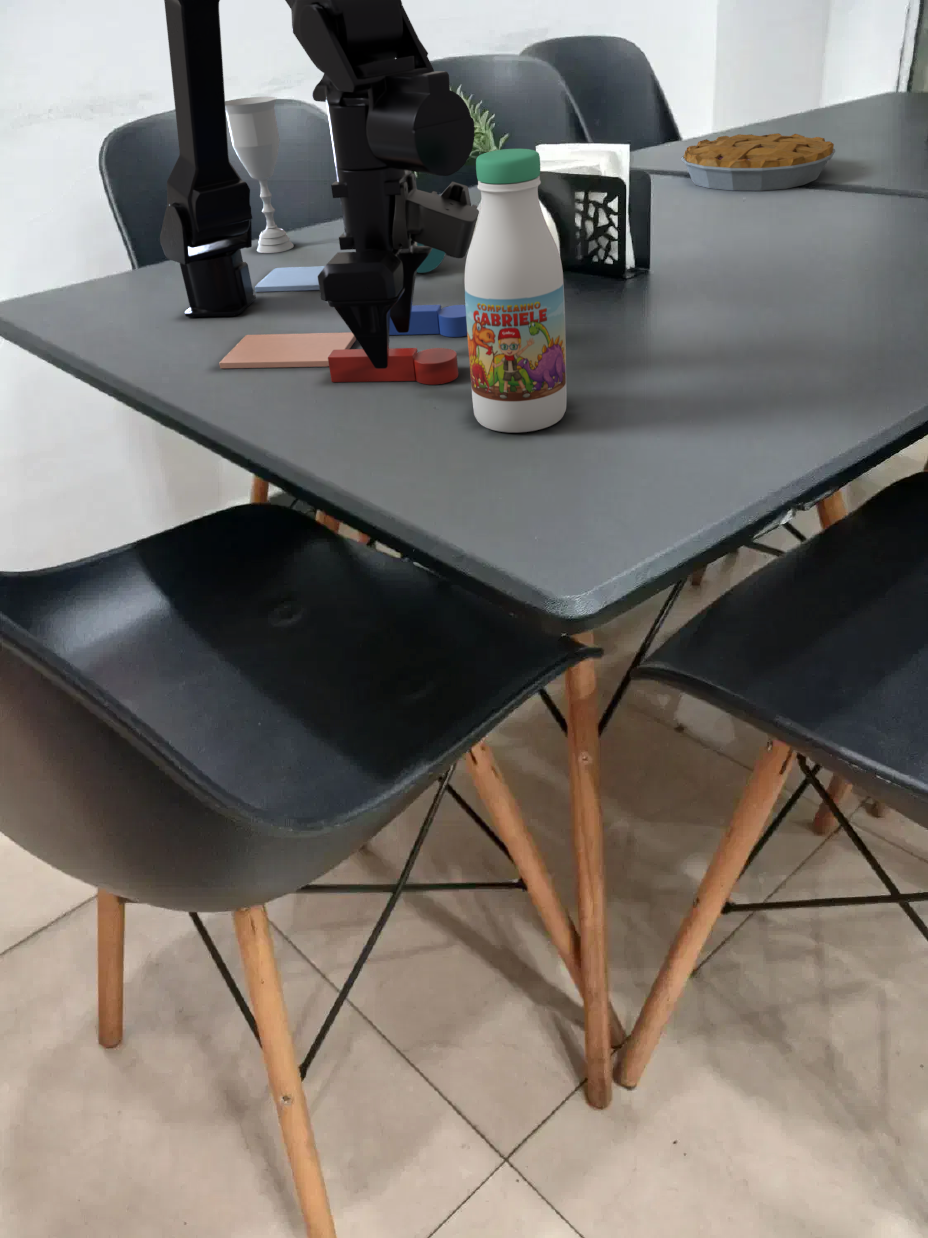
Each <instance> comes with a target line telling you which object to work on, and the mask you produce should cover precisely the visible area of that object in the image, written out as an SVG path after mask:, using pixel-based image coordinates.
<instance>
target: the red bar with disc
mask: <svg viewBox="0 0 928 1238" xmlns="http://www.w3.org/2000/svg"><path fill="white" fill-rule="evenodd" d="M328 362H329V366H328V369H329V373H330V380H331V383H362V382H363V383H364V382H365V383H367V382H415V381H416V382H418V383H419V384H422V385H429V386H430V385H431V386H433V385H443V384H448V383H451V382H453V381H454V380H456V379H458V377H459V366H458V364H459V363H458V353H457V351H455V350H454V349H452V348H445V347H432V348H427V349H422V350H421V351H418V347H399V348H398V347H397V348H394V347H393V348H392V347H391V348H389V357H388V366H387V368H385V369H377V368H375V367H374V365H373V364H372V362H371V361H370V359H369V358H368V356H367V355H366V353H365V352H364V350H363V348H360V349H359V348H356V349H355V348H350V349H344V350H333V351H332V352H331V354H330V355H329V356H328Z"/></svg>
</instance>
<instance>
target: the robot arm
mask: <svg viewBox="0 0 928 1238" xmlns="http://www.w3.org/2000/svg"><path fill="white" fill-rule="evenodd" d="M163 1H164V3H163V4H164V11H165V12H164V13H165V21H166V23H165V24H166V32H167V41H168V52H169V60H170V70H171V71H170V72H171V81H172V82H171V83H172V91H173V101H174V110H175V120H176V121H175V123H176V129H177V141H178V151H179V152H178V153H179V154H178V155H179V156H178V157H177V160H176V162H175V164H174V166H173V168H172V170H171V172H170V174H169V176H168V178H167V180H166V197H167V198H166V199H167V200H166V201H167V204H166V208H165V212H164V216H163V221H162V226H161V231H160V235H159V242H160V245H161V247H162V250H163V253H164V255H165V258H166V259H167V260H169V261H173V262H175V263H178V264H179V267H180V271H181V275H182V279H183V282H184V283H183V284H184V288H185V292H186V296H187V301H188V305H189V308H188V309H186V310H185V311H184V316H185V317H187V318H191V317H193V318H194V317H195V318H196V317H224V316H225V317H227V316H238V315H240V314H241V313H242V312H244V311H245V310H246V309H247V308H248V307H249V306H250V305H251V304H252V303H253V302H254V301H255V300H256V299H257V295H256V294H255V293H254V289H253V284H252V279H251V274H250V268H249V264H248V263H247V262H246V261H244V260H243V255H242V250H243V249H249V248H250V249H251V248H252V247H253V246H252V245H253V235H252V234H253V233H252V229H253V228H252V226H253V225H252V220H253V215H252V206H251V188H250V186H249V185H248V183H247V182H246V181H244V180H243V179H242V178H241V176H240V174H239V173H238V172H237V170H236V169H235V167H234V166H233V164H232V163H231V162H230V156H229V155H230V154H229V141H228V139H229V138H228V126H227V125H228V123H227V115H226V108H225V101H226V95H225V79H224V78H225V77H224V63H223V48H222V33H221V31H222V30H221V20H220V1H221V0H163ZM284 1H285V2H286V4H287V5H288V7H289V8H290V10H291V32H292V34H293V35H294V37H295V38H296V40H297V41H298V43H299V44H300V46H301V47H302V49H303V50H304V52H305V54H306V56H308V58H309V60H310V61H311V63H312V64H313V65H314V66H315V67H316V69H318V70H319V71H320V72H321V73H323V75H322V77H321V79H320V81H319V82H318V83H317V84H316V85H315V87H314V88H313V91H312V93H311V97H312V99H313V101H314V102H321V103H326V109H327V116H328V123H329V130H330V137H331V144H332V145H331V146H332V152H333V159H334V166H335V174H336V180H335V181H334V182H332V183H331V184H330V189H331V195H332V199H339V201H340V209H341V215H342V222H343V229H344V232H343V233H342V234H341V235H339V236H338V243H339V250H340V252H337V253H336V254H335V255H334V256H333V257H332V258H331V259H330V260H328V262H327V263H326V264H325V265H324V266H325V267H324V268H323V270H322V271H321V272H320V274H319V275H318V283H319V289H320V290H319V294H320V300H321V301H324V302H327V303H328V305H329V307H330V308H334V310H335V312H337V314H338V315H339V316H340V318H341V319H342V320H343V322H344V323H345V325H346V326H347V328H348V329H349V330H350V332H352V333H353V335H354V336H355V338H356V341H357V342H358V344H359V345H360V347H361V349H363V350H364V352H365V353H366V355H367V356H368V358H369V359H370V361H371V362H372V364H373V365H374V367H375V368H377V369H385V368H387V366H388V357H389V349H390V335H389V331H390V318H391V320H392V322H393V324H394V326H395V328H396V330H397V332H399V333H406V332H408V331H409V327H410V319H411V311H412V305H413V303H414V294H415V293H414V292H415V285H416V278H417V274H416V273H417V269H418V267H419V266H420V265H421V264H422V263H423V261H424V260H425V259H426V258H427V256H428V255H429V253H430V252H431V250H432V248H434V249H437V250H440V251H443V252H445V256H448V257H451V258H454V259H463V258H465V257H466V254H467V253H468V251H469V247H470V244H471V241H472V238H473V236H474V233H475V230H476V226H477V223H478V219H479V214H480V209H478V205H476V204H472V202H471V201H472V200H471V196H470V191H469V186H467V185H465V184H462V183H459V182H455V181H451V183H449V185H448V186H447V187H446V188H445V189H444V191H443V192H442V193H440V195H439V194H438V192H437V191H434V190H433V191H432V192H428V191H424V190H422V189H421V190H420V189H418V187H417V177H416V173H419V174H426V175H433V176H439V177H449V176H452V175H454V174H455V173H457V172H459V171H460V170H461V169H462V168H463V166H465V164H466V163H467V161H468V159H469V158H470V155H471V153H472V151H473V147H474V143H475V136H476V135H475V133H476V132H475V131H476V128H475V127H476V126H475V120H474V118H473V117H472V114H471V111H470V109H469V107H468V105H467V103H466V101H465V100H464V99H463V98H462V97H461V96H460V95H459V94H458V93H457V92H455V91H453V90H451V84H450V74H449V72H448V71H447V70H445V71H444V70H437V71H436V70H434V67H433V65H432V63H431V61H430V59H429V57H428V55H429V52H428V51H427V49H426V47H425V46H424V45H423V43H422V41H421V40H420V39H419V36H418V34H417V32H416V30H415V28H414V25H413V24H412V21H411V19H410V18H409V15H408V14H407V11H406V9H405V7H404V5H403V1H402V0H284ZM412 172H414V173H412ZM417 243H419V244H422V245H424V246H417ZM351 250H353V251H351ZM354 250H355V251H354ZM341 251H343V252H341Z"/></svg>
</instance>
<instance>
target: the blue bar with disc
mask: <svg viewBox="0 0 928 1238" xmlns="http://www.w3.org/2000/svg"><path fill="white" fill-rule="evenodd" d="M409 335H410V336H412V335H413V336H414V335H441V336H443V337H447V338H461V337H468V335H467V320H466V306H465V304H454V305H449V306H445V307H442V305H441V304H417V305H416V304H415V305H414V304H412V311H411V319H410V327H409V331H408V332H406V333H399V332H397V330H396V328H395V326H394V324H393V322H392V320H391V318H390V331H389V336H409Z"/></svg>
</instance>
